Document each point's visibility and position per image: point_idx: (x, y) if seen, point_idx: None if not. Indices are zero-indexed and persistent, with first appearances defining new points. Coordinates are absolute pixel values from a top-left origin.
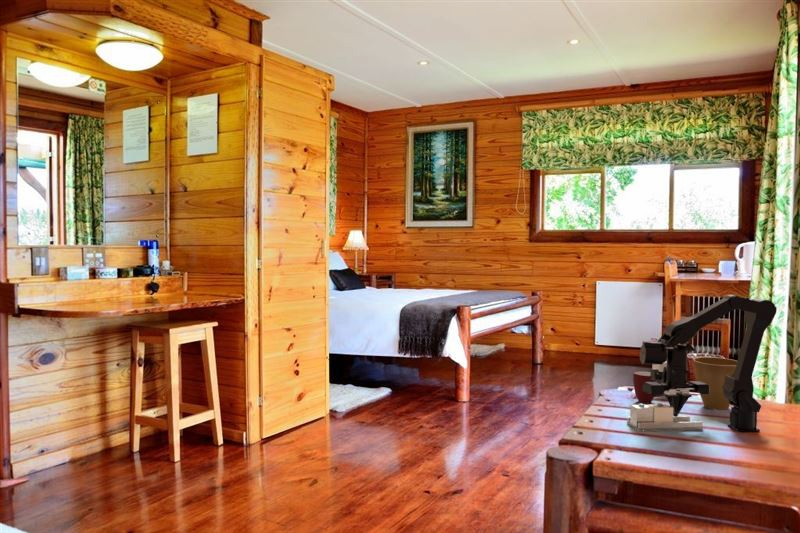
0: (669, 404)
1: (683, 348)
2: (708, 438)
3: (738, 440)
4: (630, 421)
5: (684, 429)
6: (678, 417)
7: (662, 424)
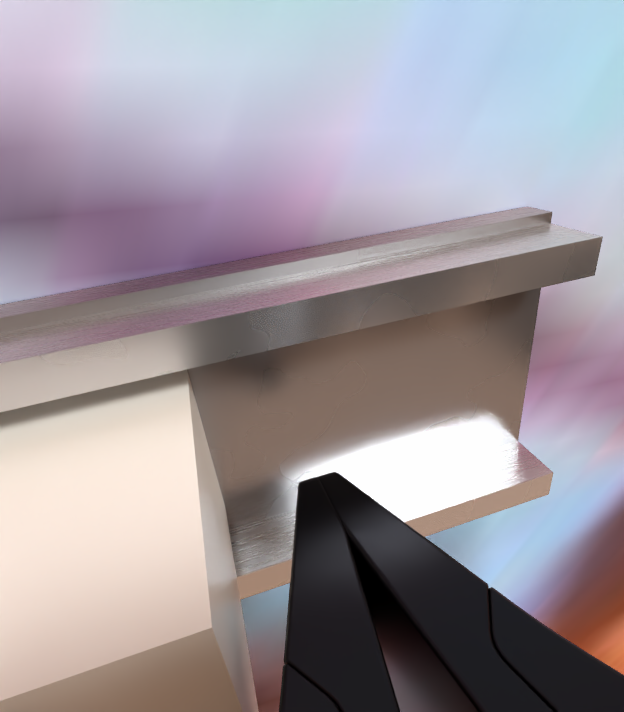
0: (284, 671)
1: None
2: None
3: (549, 606)
4: None
5: None
6: (421, 308)
7: None
